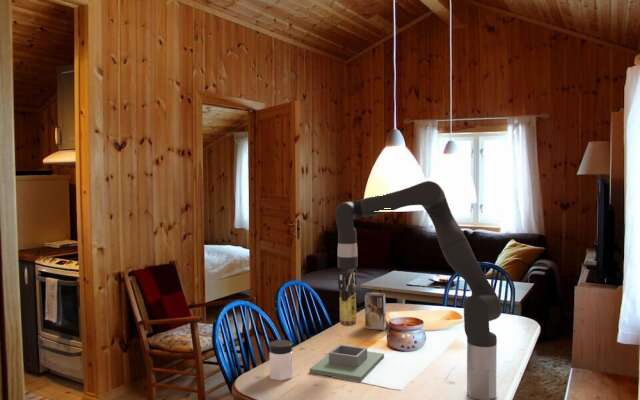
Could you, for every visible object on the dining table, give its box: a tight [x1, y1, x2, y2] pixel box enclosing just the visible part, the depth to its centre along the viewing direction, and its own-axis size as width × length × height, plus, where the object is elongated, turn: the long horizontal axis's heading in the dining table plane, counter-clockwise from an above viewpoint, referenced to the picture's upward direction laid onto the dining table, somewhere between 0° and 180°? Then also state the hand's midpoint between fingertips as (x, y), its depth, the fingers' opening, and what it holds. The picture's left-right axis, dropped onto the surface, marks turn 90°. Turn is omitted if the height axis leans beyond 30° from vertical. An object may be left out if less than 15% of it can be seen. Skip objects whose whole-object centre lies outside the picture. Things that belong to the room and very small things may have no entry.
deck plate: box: [309, 344, 385, 382], centre depth 201 cm, size 26×20×6 cm
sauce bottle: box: [339, 272, 357, 327], centre depth 200 cm, size 7×6×20 cm
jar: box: [268, 339, 293, 382], centre depth 191 cm, size 9×8×12 cm
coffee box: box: [364, 291, 387, 331], centre depth 249 cm, size 9×6×16 cm
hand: (348, 298), depth 200 cm, fingers closed on sauce bottle, 6 cm apart
